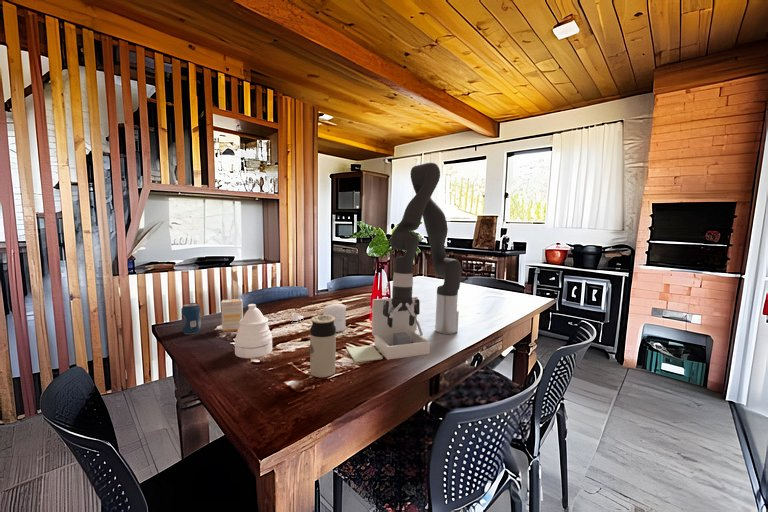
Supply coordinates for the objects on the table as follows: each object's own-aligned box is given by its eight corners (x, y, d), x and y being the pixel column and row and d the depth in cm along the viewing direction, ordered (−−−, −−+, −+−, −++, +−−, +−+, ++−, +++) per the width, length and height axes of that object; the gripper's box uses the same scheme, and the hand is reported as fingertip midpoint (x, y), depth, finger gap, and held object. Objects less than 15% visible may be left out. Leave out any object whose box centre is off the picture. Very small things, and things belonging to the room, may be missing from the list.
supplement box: (243, 326, 149) (242, 298, 147) (242, 330, 144) (241, 300, 143) (223, 328, 146) (222, 299, 145) (221, 331, 141) (220, 302, 140)
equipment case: (415, 340, 137) (416, 296, 135) (432, 353, 124) (434, 305, 122) (371, 345, 131) (372, 299, 129) (384, 359, 117) (386, 309, 115)
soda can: (180, 331, 141) (179, 304, 139) (199, 328, 145) (198, 301, 144) (184, 336, 135) (182, 307, 134) (202, 332, 140) (201, 304, 139)
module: (404, 346, 130) (405, 331, 129) (409, 351, 125) (410, 336, 125) (392, 348, 128) (393, 333, 128) (397, 353, 124) (398, 337, 123)
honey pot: (269, 357, 117) (268, 307, 115) (230, 359, 115) (229, 308, 113) (274, 343, 129) (274, 299, 128) (240, 345, 127) (239, 299, 125)
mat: (371, 346, 129) (371, 345, 129) (382, 358, 118) (382, 357, 118) (346, 349, 125) (346, 348, 125) (355, 362, 114) (355, 360, 114)
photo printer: (342, 328, 150) (343, 301, 149) (347, 330, 147) (347, 303, 146) (321, 331, 145) (321, 304, 144) (325, 334, 141) (325, 306, 140)
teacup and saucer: (300, 318, 165) (300, 310, 165) (308, 322, 159) (308, 313, 159) (283, 321, 159) (283, 313, 159) (291, 325, 153) (291, 317, 153)
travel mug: (335, 366, 111) (335, 314, 109) (335, 377, 103) (336, 321, 101) (310, 367, 110) (310, 314, 108) (309, 379, 102) (309, 322, 100)
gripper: (415, 282, 130) (413, 322, 132) (381, 283, 125) (379, 324, 127) (424, 285, 123) (421, 327, 125) (388, 286, 118) (386, 330, 120)
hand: (400, 326), depth 126 cm, fingers open, 8 cm apart
